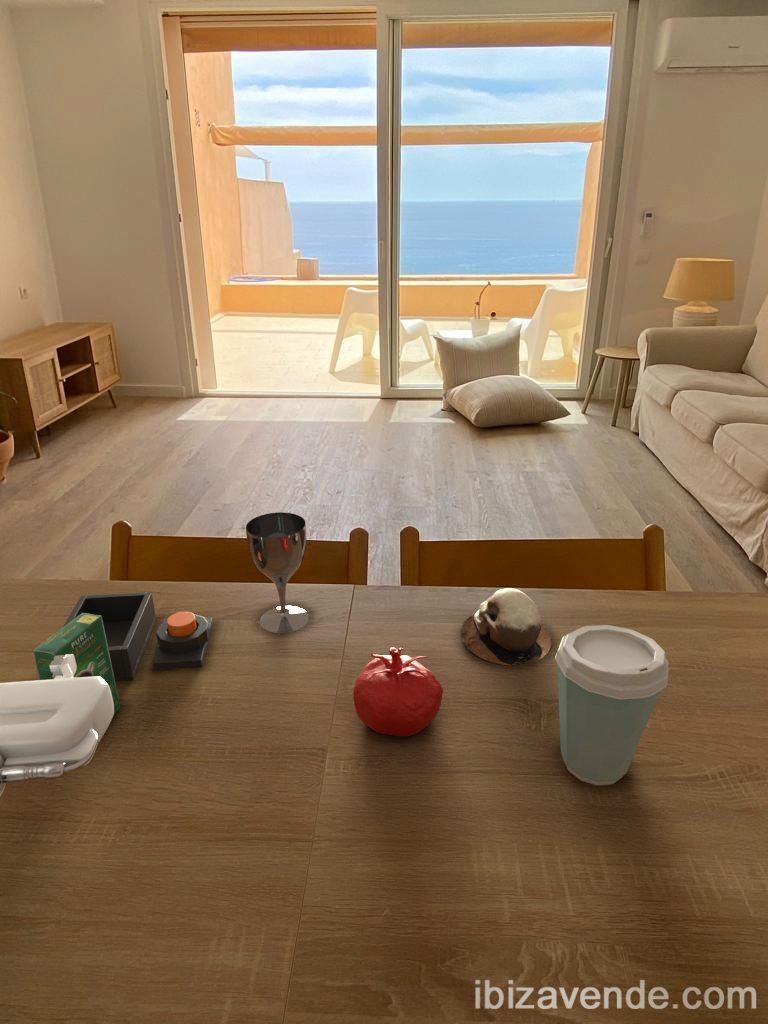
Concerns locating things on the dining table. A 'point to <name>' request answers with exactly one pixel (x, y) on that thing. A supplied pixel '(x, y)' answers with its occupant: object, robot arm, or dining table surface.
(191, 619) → the button
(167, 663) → the panel
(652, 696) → the disposable coffee cup
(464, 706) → the dining table surface
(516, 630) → the skull
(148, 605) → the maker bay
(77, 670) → the coffee box
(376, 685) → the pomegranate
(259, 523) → the wine glass
